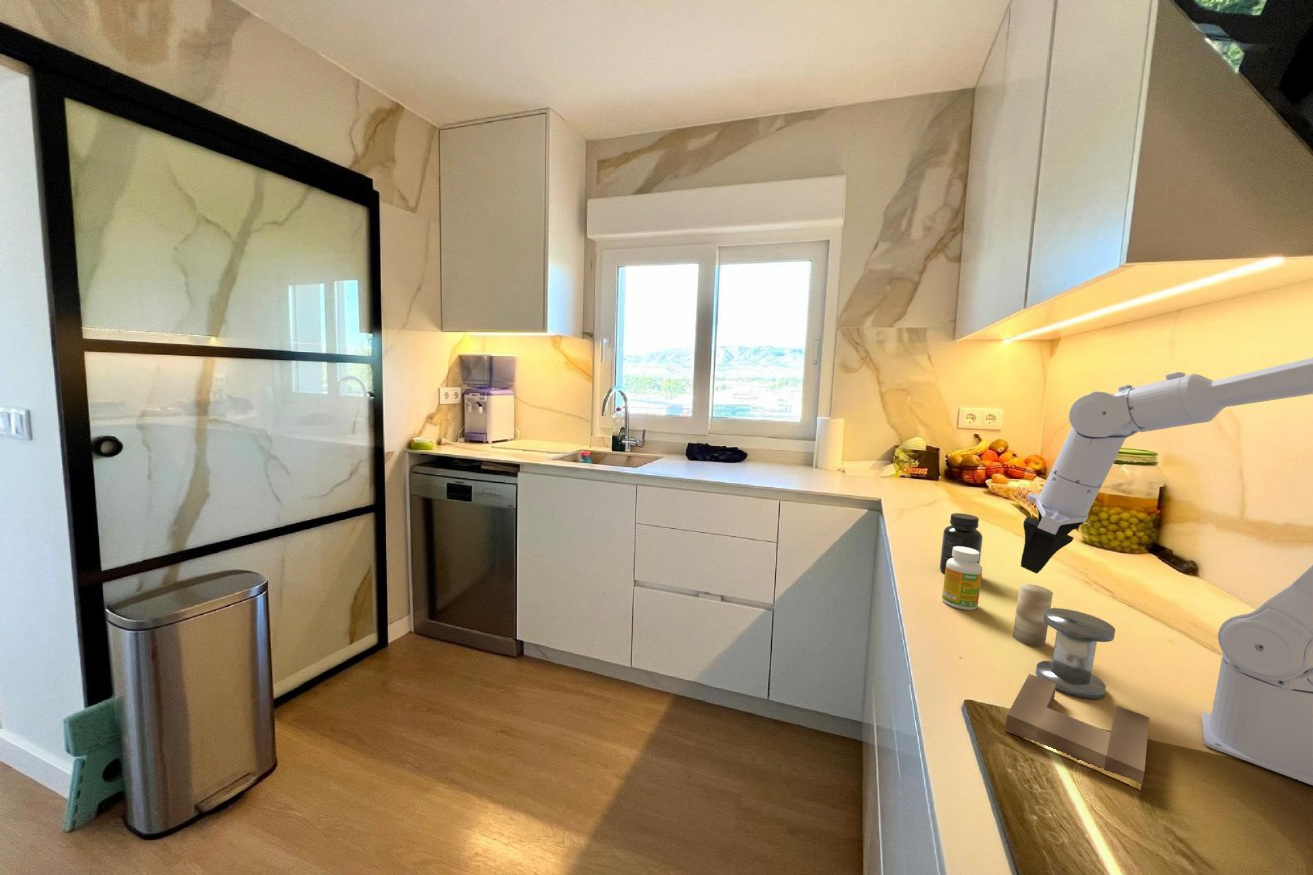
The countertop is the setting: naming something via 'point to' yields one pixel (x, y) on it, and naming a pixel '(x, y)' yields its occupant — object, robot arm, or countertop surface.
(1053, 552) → the robot arm
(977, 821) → the countertop surface
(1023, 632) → the beige banded cylinder
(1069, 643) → the bobbin post
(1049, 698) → the notched board
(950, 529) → the supplement bottle
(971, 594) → the supplement bottle
